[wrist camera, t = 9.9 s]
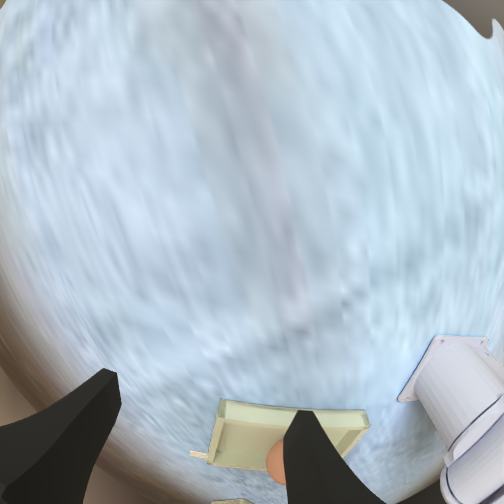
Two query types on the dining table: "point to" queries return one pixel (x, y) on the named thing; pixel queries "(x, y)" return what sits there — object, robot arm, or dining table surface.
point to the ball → (276, 463)
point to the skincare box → (232, 501)
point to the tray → (272, 432)
